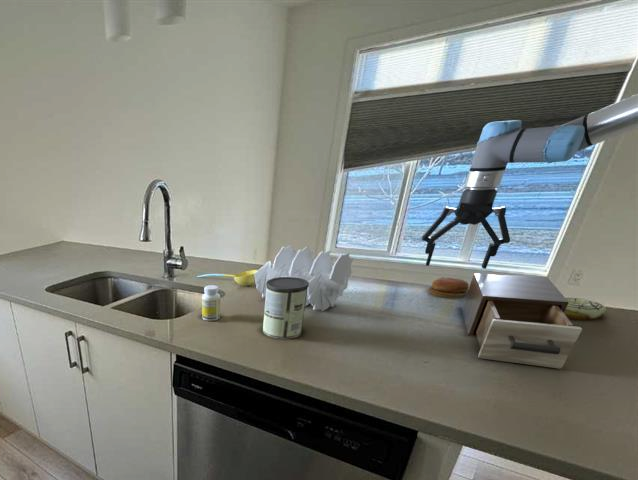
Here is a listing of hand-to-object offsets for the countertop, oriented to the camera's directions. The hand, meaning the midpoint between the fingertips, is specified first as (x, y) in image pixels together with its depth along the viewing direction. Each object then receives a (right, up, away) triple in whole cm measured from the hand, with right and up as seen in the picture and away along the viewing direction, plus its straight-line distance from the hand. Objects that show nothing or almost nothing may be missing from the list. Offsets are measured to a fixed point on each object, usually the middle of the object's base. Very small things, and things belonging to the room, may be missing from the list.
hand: (454, 266), depth 120 cm
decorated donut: (+18, -18, -15) cm, 29 cm away
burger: (+1, -8, +4) cm, 9 cm away
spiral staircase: (-44, -10, +7) cm, 46 cm away
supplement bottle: (-73, -15, +4) cm, 75 cm away
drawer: (-12, -28, -31) cm, 43 cm away
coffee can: (-56, -22, -10) cm, 61 cm away
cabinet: (-3, -21, -18) cm, 28 cm away
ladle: (-61, +4, +34) cm, 70 cm away
